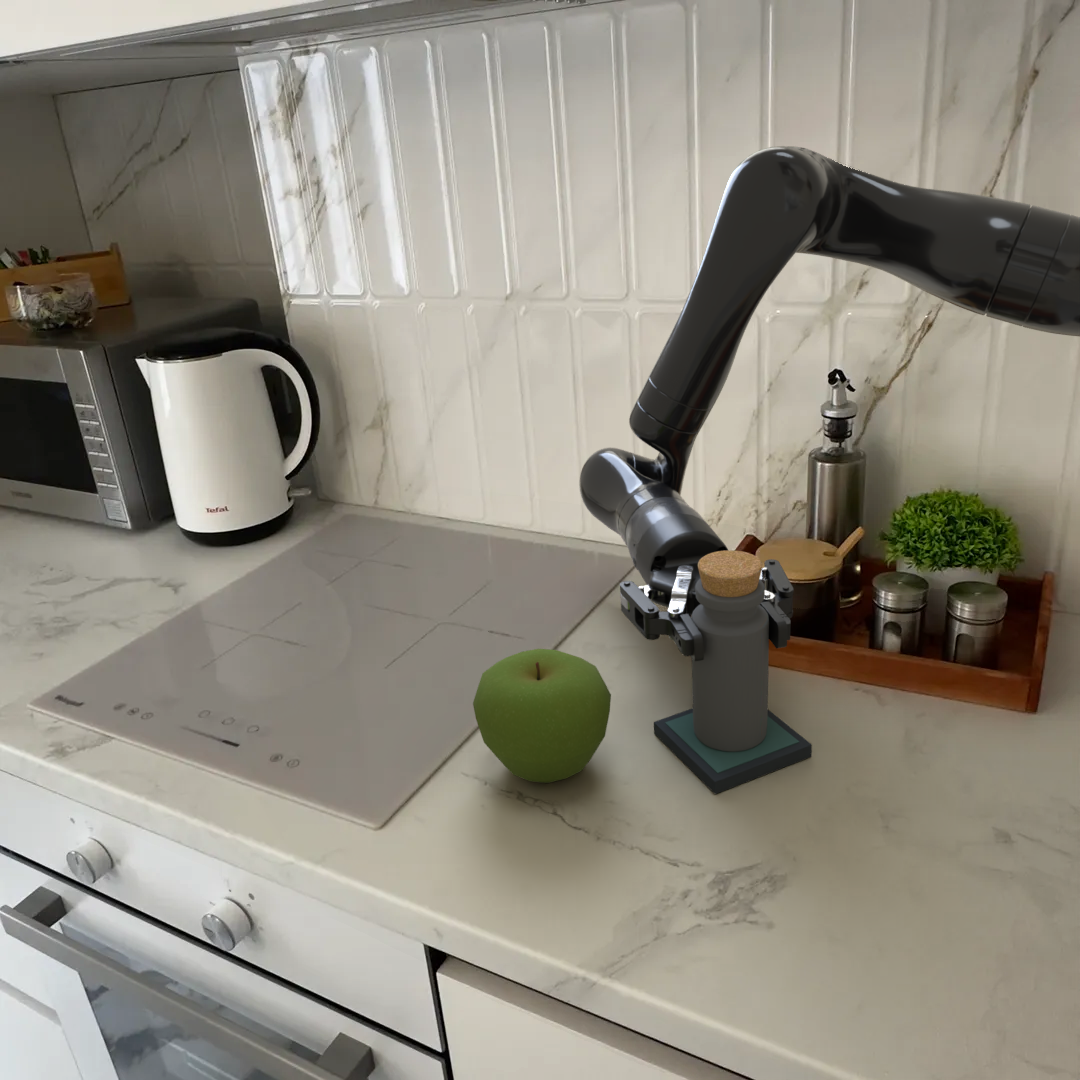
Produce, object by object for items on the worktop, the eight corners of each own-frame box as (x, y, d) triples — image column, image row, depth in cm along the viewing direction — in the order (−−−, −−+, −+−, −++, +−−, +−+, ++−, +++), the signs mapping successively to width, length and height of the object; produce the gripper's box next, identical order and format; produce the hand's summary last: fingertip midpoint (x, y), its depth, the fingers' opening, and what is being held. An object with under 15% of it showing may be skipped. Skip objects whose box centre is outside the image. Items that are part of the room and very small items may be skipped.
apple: (641, 774, 76) (636, 665, 72) (529, 831, 71) (516, 718, 67) (563, 712, 85) (555, 612, 81) (458, 760, 80) (443, 655, 76)
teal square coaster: (744, 701, 84) (744, 688, 84) (811, 756, 77) (812, 743, 76) (653, 733, 81) (653, 720, 81) (715, 794, 73) (714, 780, 73)
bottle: (709, 702, 82) (707, 541, 76) (777, 719, 79) (781, 553, 73) (681, 741, 78) (677, 573, 71) (752, 760, 75) (754, 587, 68)
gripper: (594, 524, 85) (645, 614, 70) (752, 501, 87) (835, 584, 71) (599, 600, 88) (649, 702, 73) (751, 576, 90) (831, 671, 75)
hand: (741, 643), depth 72 cm, fingers closed on bottle, 6 cm apart
